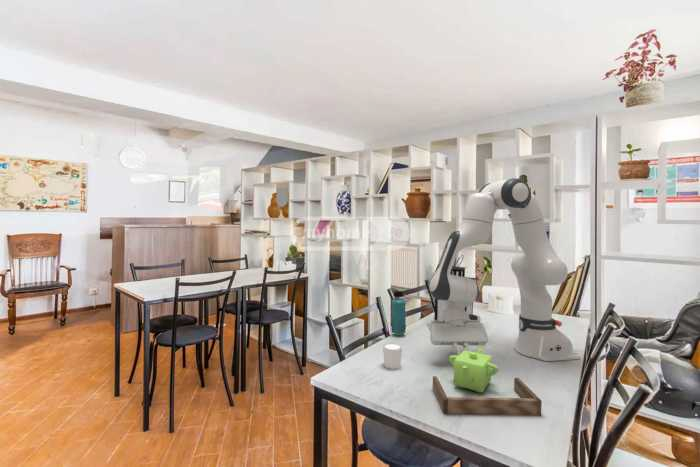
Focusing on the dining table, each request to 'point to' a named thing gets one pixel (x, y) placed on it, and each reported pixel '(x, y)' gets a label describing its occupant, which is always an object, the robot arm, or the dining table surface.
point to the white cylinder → (392, 355)
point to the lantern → (437, 303)
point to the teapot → (473, 370)
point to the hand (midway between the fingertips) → (462, 356)
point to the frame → (490, 402)
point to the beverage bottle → (398, 314)
